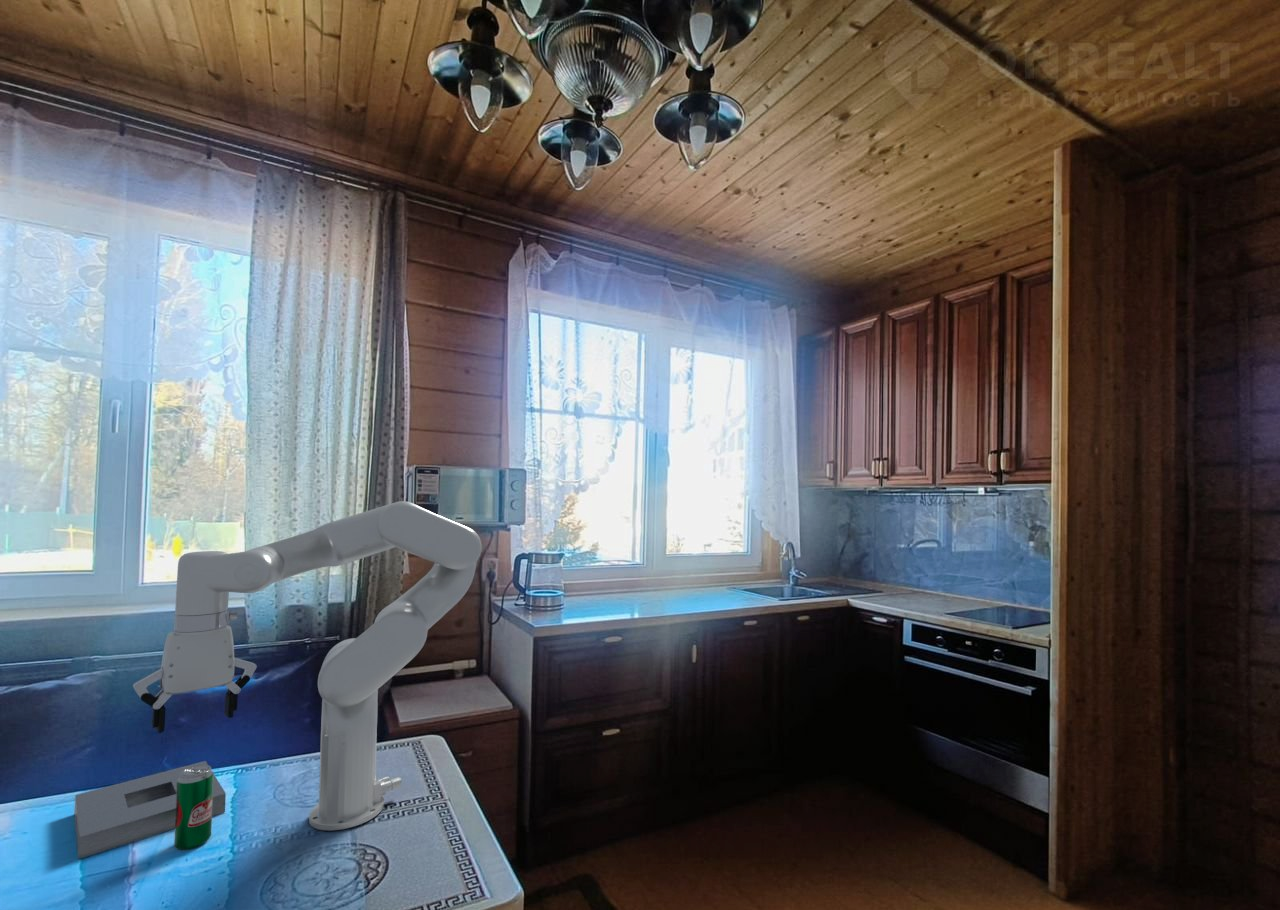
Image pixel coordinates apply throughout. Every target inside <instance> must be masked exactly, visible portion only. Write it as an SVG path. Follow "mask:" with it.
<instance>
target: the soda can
mask: <svg viewBox="0 0 1280 910" xmlns="http://www.w3.org/2000/svg"><path fill="white" fill-rule="evenodd" d="M214 775H215V774H214V771H213V770H212V767H211V765H208V766H207V765H203V766H196V767H192V768H189V769H187V770H185V771H183V772H182V773H181V774H180V778H179V779H178V781H177V794H176V817H175V829H174V844H173V846H174V848H176V849H177V850H180V851H189V850H193V849H196V848H198V847H200V846H203V845H204V844H205V843H207V842H208V840H210V838H212V837H211V836H212V829H213V828H212V823H213V822H212V821H213V817H212V803H213V777H214Z"/></svg>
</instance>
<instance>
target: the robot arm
mask: <svg viewBox="0 0 1280 910" xmlns="http://www.w3.org/2000/svg"><path fill="white" fill-rule="evenodd" d="M394 548H397V549H400V550H402V551H404V552H407V553H409V554H410V555H414V556H417V557H418V558H421V559H424V560H426V561H429V562H432V563H434V564H433V566H432V567H431V569H430V570H429V571H428V572H427V574H425V575H424V576H423V577H422V578H421V579H420V580H418V581H417V583H415V584H414V585H413V586H411V587H410V588H409V589H408V590H407V591H405V592H404V593H403V594H402V595H400V596H399V597H398V598H397V599H395V600H394V601H392V602H391V603H390V604H388V605H387V606H386V607H384V608H382V610H381V611H380V612H379V613H378V614H377V616H376V618H375V620H374V623H373V624H371V626H370V627H368V628H367V629H366V630H364V632H362V633H361V634H359V635H358V636H357V637H355V638H354V637H353V638H347V639H344V640H342V641H340V642H338V643H337V644H335V645H334V646H333V647H331V649H330V650H329V651H328V653H327V654H326V656H325V657H324V659H323V662H322V665H321V667H320V670H319V673H318V678H317V688H318V689H317V690H318V693H319V695H320V697H321V698H322V699H321V700H322V701H321V717H320V718H321V723H320V725H321V726H320V753H319V754H320V755H319V756H320V757H319V786H318V787H319V791H318V793H319V794H318V795H319V796H318V803H317V804H316V805H314V807H313V808H312V809H311V810H310V812H308V813H309V814H308V823H309V825H310V827H312V828H314V829H316V830H319V831H328V832H329V831H330V832H331V831H340V830H347V829H350V828H351V829H352V828H354V827H357V826H360V825H363V824H365V823H367V822H369V821H370V820H372V819H374V818H375V817H377V816H378V815H379V813H381V812H382V810H383V809H384V806H385V797H384V795H386V792H389V791H395V790H396V789H400V788H401V787H402V779H401V777H400V776H398V777H395V778H394V777H393V778H391V779H390V777H389V776H388V775H387V776H385V777H382V778H379V779H377V777H376V776H377V743H378V742H377V740H378V739H377V738H378V737H377V736H378V734H377V732H378V731H377V730H378V729H377V728H378V707H379V703H378V697H379V689H380V688H381V687H382V686H383V685H385V684H386V683H387V682H388V681H389V680H390V679H391V678H392V677H394V676H395V675H396V674H397V673H398V672H400V670H402V669H403V668H404V667H405V666H406V665H408V664H409V663H410V662H411V661H412V660H413V659H414V658H415V657H416V656H417V655H418V654H419V652H420V651H421V650H422V648H423V647H424V646H425V644H426V641H427V638H428V632H429V629H431V628H432V627H433V626H434V625H435V624H436V623H437V622H439V620H441V619H442V618H443V617H444V616H445V615H446V614H447V613H448V612H449V611H450V610H452V609H453V608H454V607H455V606H456V605H457V604H458V603H459V602H460V601H461V599H462V598H463V597H465V595H466V593H467V591H469V589H470V586H471V585H472V583H473V580H474V576H475V573H476V569H477V561H478V560H479V558H480V557H481V553H482V549H483V547H482V541H481V538H480V536H479V534H478V533H477V532H476V531H475V530H474V529H473V528H471V527H469V526H465V525H463V524H461V523H458V522H455V521H453V520H451V519H448V518H446V517H444V516H442V515H439V514H436V513H434V512H432V511H430V510H428V509H425V508H424V507H421V506H419V505H417V504H415V503H414V502H411V501H406V500H403V501H395V502H393V503H390V504H386V505H383V506H378V507H375V508H373V509H370V510H369V509H368V510H366V511H362V512H359V513H356V514H353V515H350V516H347V517H344V518H339V519H337V520H334V521H330V522H327V523H325V524H322V525H320V526H319V527H316V528H314V529H311V530H309V531H305V532H303V533H299V534H297V535H293V536H291V537H287V538H284V539H281V540H278V541H274V542H271V543H268V544H264V545H262V546H257V547H254V548H251V549H249V550H245V551H240V552H231V553H227V552H225V551H218V550H203V551H202V550H201V551H192V552H187V553H184V554H183V555H181V556H179V559H178V562H177V574H176V575H177V576H176V591H175V592H176V593H175V605H174V606H175V608H174V611H175V612H174V625H173V631H171V632H168V634H167V635H166V639H165V643H164V645H163V646H164V647H163V652H162V660H161V664H160V665H161V667H160V669H158V670H156V671H154V672H151V673H150V674H149V675H147V676H145V677H144V678H141V679H139V680H138V681H136V682H134V683H133V685H132V687H133V690H134V691H135V692H136V694H137V696H139V698H140V700H141V701H142V702H143V703H145V704H147V705H148V706H149V707H150V708H151V707H152V719H151V720H152V721H151V725H152V726H151V727H152V729H153V728H156V731H157V733H158V734H162V733H163V732H165V724H166V723H165V722H166V712H167V711H166V707H165V705H164V704H165V703H166V702H167V701H168V700H169V699H170V698H171V697H172V696H173V695H174V696H175V695H180V694H186V693H191V692H196V691H202V690H208V689H212V688H213V689H214V688H218V687H223V686H225V688H227V691H226V693H225V701H224V702H225V703H224V715H225V716H226V717H227V718H229V719H231V718H233V717H234V712H235V711H237V710H238V700H239V699H238V696H239V693H240V692H241V691H242V689H243V688H244V687H245V686H246V685H247V684H248V683H249V682H250V681H251V678H252V677H253V675H254V673H255V671H256V669H257V668H258V666H257V664H256V663H254V662H251V661H247V660H243V659H240V658H238V657H235V645H234V643H235V642H234V636H233V630H232V626H230V625H229V623H230V622H232V621H234V620H238V612H236V611H235V612H234V611H233V612H232V611H229V598H230V597H229V595H230V593H235V594H236V593H237V594H253V593H258V592H261V591H263V590H265V589H266V588H267V587H269V586H271V585H272V584H274V583H277V582H280V581H283V580H286V579H288V578H291V577H295V576H298V575H301V574H303V573H306V572H310V571H312V570H317V569H321V568H326V567H339V566H343V565H346V564H350V563H353V562H356V561H358V560H362V559H365V558H367V557H370V556H374V555H376V554H380V553H382V552H386V551H388V550H391V549H394ZM235 668H239V669H243V670H244V672H243V673H242V675H241V676H239V678H238V679H237V680H236V681H234V677H235ZM157 681H159V688H160V691H158V692H157V694H156V695H153V694H152V693H150V692H149V691H148V689H147V688H148V686H150V685H152V684H153V683H155V682H157Z"/></svg>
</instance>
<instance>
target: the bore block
mask: <svg viewBox="0 0 1280 910" xmlns="http://www.w3.org/2000/svg"><path fill="white" fill-rule="evenodd" d="M203 765H207V766H209V764H208V762H207V761H206V760H204V761H200V762H197V763H195V762H194V763H192V764H189V765H184V766H181V767H178V768H177V767H176V768H172V769H168V770H166V771H161V772H157V773H154V774H149V775H146V776H143V777H142V776H141V777H139V778H135V779H131V780H127V781H123V782H120V783H116V784H112V785H109V786H104V787H100V788H97V789H92V790H89V791H85V792H82V793H81V792H80V793H79V794H75V795H74V811H73V812H74V814H73V816H75V817H74V826H75V835H76V836H75V837H76V846H77V857H78V860H82V859H84V858H87V857H89V856H90V857H91V856H94V855H96V854H99V853H103V852H106V851H109V850H112V849H116V848H119V847H122V846H124V845H128V844H131V843H134V842H137V841H141V840H144V839H148V838H149V837H152V836H153V837H154V836H156V835H159V834H163V833H165V832H166V833H167V832H169V831H172V830H175V817H176V794H177V781H178V779H179V778H180V774H181V773H182V772H183V771H185V770H187V769H189V768H192V767H196V766H203ZM226 795H227V793H226V791H225V790H224V788H223V787H222V785H221V783H220V781H219V780H218V779H217V777H216V776H215V774H214V777H213V803H212V818H213V817H215V816H218V815H221V814H225V813H226V799H227V798H226ZM224 812H225V813H224Z"/></svg>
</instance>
